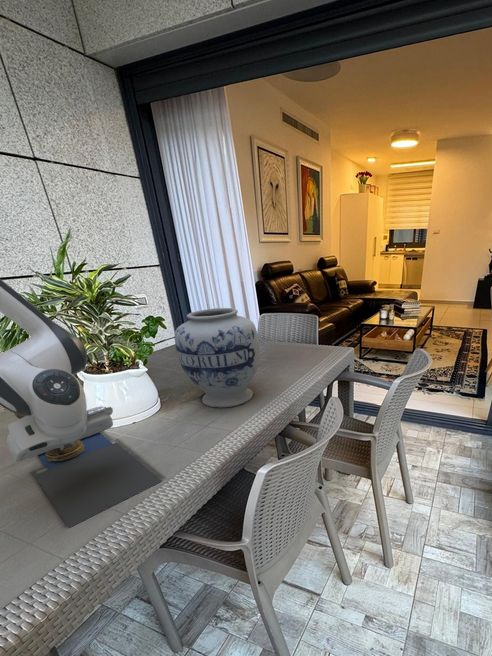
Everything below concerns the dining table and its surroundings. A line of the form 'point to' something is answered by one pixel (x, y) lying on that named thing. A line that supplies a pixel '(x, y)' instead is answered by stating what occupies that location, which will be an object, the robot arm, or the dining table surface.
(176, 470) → the dining table surface
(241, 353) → the apothecary jar
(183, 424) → the dining table surface
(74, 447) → the wooden mug
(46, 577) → the dining table surface
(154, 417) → the dining table surface
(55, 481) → the plate
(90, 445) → the mat
